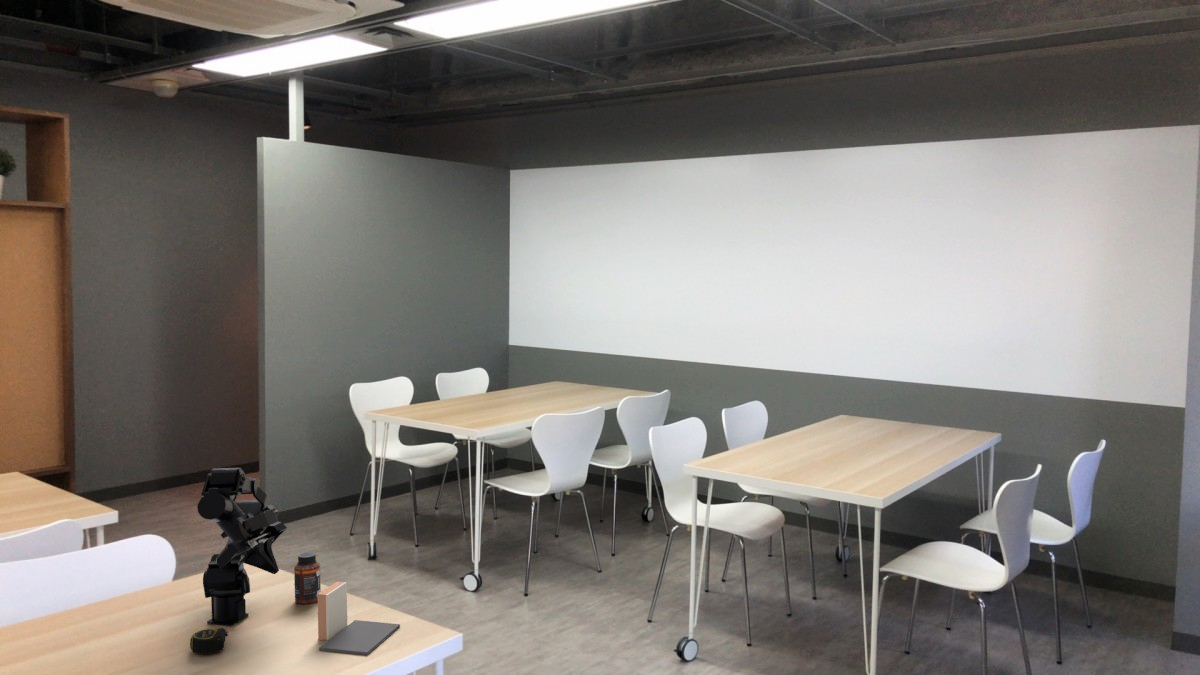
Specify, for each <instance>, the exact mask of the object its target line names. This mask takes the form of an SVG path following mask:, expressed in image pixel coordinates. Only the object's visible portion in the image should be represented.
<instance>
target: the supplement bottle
mask: <svg viewBox="0 0 1200 675" xmlns="http://www.w3.org/2000/svg"><path fill="white" fill-rule="evenodd" d="M297 557H298V558H297V561H298V562H297V563H296V564H295V565H294V568H293V569H294V570H293V571H294V572H293V574H294V575H293V576H294V600H295V602H296V603H297V604H299V605H309V604H313V603H317V602H318V595H317V594H318V593H320V592H321V591H322V590H321V564H320V562H319V561H318V560H317V558H316V553H315V552H310V551H309V552H308V551H307V552H302V553H299V554H298V555H297Z"/></svg>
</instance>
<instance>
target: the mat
mask: <svg viewBox="0 0 1200 675" xmlns="http://www.w3.org/2000/svg"><path fill="white" fill-rule="evenodd" d="M400 627H401V624H400V623H388V622H381V621H371V620H370V621H368V620H360V619H359V620H358V619H355V620H353V621H352V622H350V623H349V624H347V627H345V628H344V629H343V630H341V631H340V632H339V633H337V634H336V635H335V636H334V637H332V638H331V639H330V640H326V641H325V643H323V644H322V645H320V646H319V647H318V650H319V651H324V652H333V653H344V654H352V655H361V656H368V655H370V653H372V652H373V651H374V650H375V649H376V648H378V646H380V644H382V643H383V642H384V641H386V640H387V638H389V637H390V636H391V635H392V634H394V633H395V632H396V631H397V630H398V629H399V628H400Z"/></svg>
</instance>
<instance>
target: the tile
mask: <svg viewBox="0 0 1200 675" xmlns="http://www.w3.org/2000/svg"><path fill="white" fill-rule="evenodd" d="M347 585H348V584H347V582H346V581H335V582H334V583H332V584H331V585H329V586H328V587H326V588H324V589H323V590H321V592H320V593H318V594H317V595H318V601H317V629H318V630H317V636H318V639H317V640H320V641H328V640H330V639H331V638H332V637H334V636H335V635H336V634H337V633H339V632H340V631H341V630H343V629H344V628H345V627H347V626H348V595H347V590H348V588H347V587H348V586H347Z"/></svg>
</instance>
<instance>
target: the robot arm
mask: <svg viewBox="0 0 1200 675" xmlns="http://www.w3.org/2000/svg"><path fill="white" fill-rule="evenodd" d="M258 483H259V482H258V479H257V478H255V477H249V476H246V473H245V472H244V470H243V469H242V468H241V467H227V468H226V467H224V468H219V467H218V468H212V469H211V470H210V473H207V475H206V478H205V481H204V484H203V487H202V491H201V498H200V500H199V501H198V503H197V509H196V510H197V514H199V516H200V517H201V518H203V519H205V520H208V521H211V522H214V523H215V524H216V525H217V527H219V528H220V530H221V531H222V532H221V534H220V536H221V537H222V539H225V538H228V539H227V541H226V544H225V546H224V548H223V549H222V550H221V551H220V552H219V553H214V554H213V555H211V559H210V561H209V563H208V564H207V568H206V570H204V571H203V576H202V585H203V591H204V592H203V593H204V598H205V599H208V598H210V600H211V604H210V607H211V618H210V619H208V620H207V621H206V624H207V625H217V626H218V625H219V626H227V627H228V626H229V627H232V626H235V625H236V624H237V623H239V622H240V621H242V620H244V619H246V618H247V617H249V613H248V612H247V610H246V607H247V605H246V599H245V595H247V594H249V593H251V584H250V583H251V582H250V577H249V576H248V572H247V570H246V569H245V566H244V565H249V566H251V567H254V568H257V569H260V570H262V571H264V572H267V573H269V574H272V575H276V574H278V572H280V569H279V567H278V563H277V561H276V558H275V556H274V553H273V548H272V546H273V544H274V543H275V542H276V541H277V540H278V539H279V538H280V537H281V536H282V534H284V533H285V532H286V530H287V529H288V527H287V526H286V525H285V524H284V523H283V522H282V521H279V520H278V517H279V515H280V514H279V513H280V511H279V510H278V509H277V508H276V507H275V506H274V505H273V504H269V501H268V495H267V493H265V491H264V490H262V488H260V486H259V484H258ZM241 495H253V498H255V499H249V500H248V499H247V500H236V499H237V497H238V496H239V497H240V496H241Z"/></svg>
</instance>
